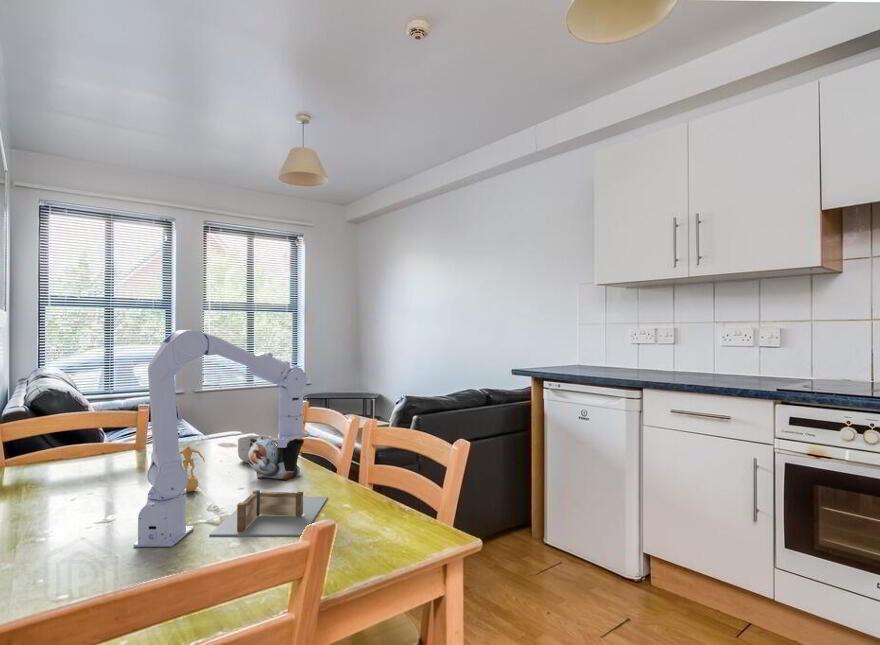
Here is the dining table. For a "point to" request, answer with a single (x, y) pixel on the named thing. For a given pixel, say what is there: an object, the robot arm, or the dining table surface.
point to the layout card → (274, 522)
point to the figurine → (192, 480)
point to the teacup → (248, 446)
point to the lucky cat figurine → (268, 460)
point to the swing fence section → (281, 503)
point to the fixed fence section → (248, 511)
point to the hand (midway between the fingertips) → (290, 470)
